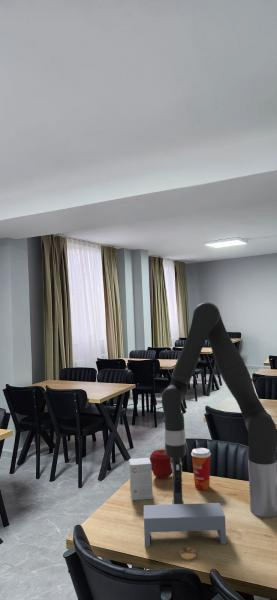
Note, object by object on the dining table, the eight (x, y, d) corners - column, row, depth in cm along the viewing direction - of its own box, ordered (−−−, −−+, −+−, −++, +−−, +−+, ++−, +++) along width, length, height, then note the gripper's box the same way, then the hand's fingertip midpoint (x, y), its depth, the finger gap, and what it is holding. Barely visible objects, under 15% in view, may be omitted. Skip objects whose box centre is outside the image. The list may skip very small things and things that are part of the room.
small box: (150, 491, 149) (149, 457, 149) (153, 499, 143) (151, 463, 143) (129, 493, 148) (128, 458, 149) (131, 500, 142) (130, 465, 142)
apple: (165, 485, 154) (164, 455, 154) (144, 478, 161) (143, 450, 161) (180, 476, 162) (179, 448, 162) (160, 470, 169) (159, 443, 169)
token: (194, 551, 111) (194, 546, 111) (197, 561, 106) (196, 556, 106) (179, 551, 111) (178, 547, 111) (180, 561, 106) (180, 557, 106)
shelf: (220, 528, 121) (219, 502, 122) (226, 543, 113) (225, 516, 114) (144, 531, 121) (143, 505, 122) (144, 546, 113) (143, 518, 114)
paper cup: (189, 484, 154) (187, 448, 154) (206, 481, 156) (205, 446, 157) (197, 492, 146) (196, 455, 147) (215, 489, 149) (214, 452, 149)
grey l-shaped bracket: (183, 502, 139) (181, 471, 140) (189, 529, 122) (187, 493, 122) (172, 503, 139) (170, 471, 140) (176, 530, 122) (175, 493, 122)
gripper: (188, 447, 132) (189, 496, 131) (183, 434, 146) (185, 478, 145) (166, 448, 132) (167, 496, 131) (163, 435, 146) (165, 479, 145)
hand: (176, 487), depth 138 cm, fingers open, 8 cm apart
